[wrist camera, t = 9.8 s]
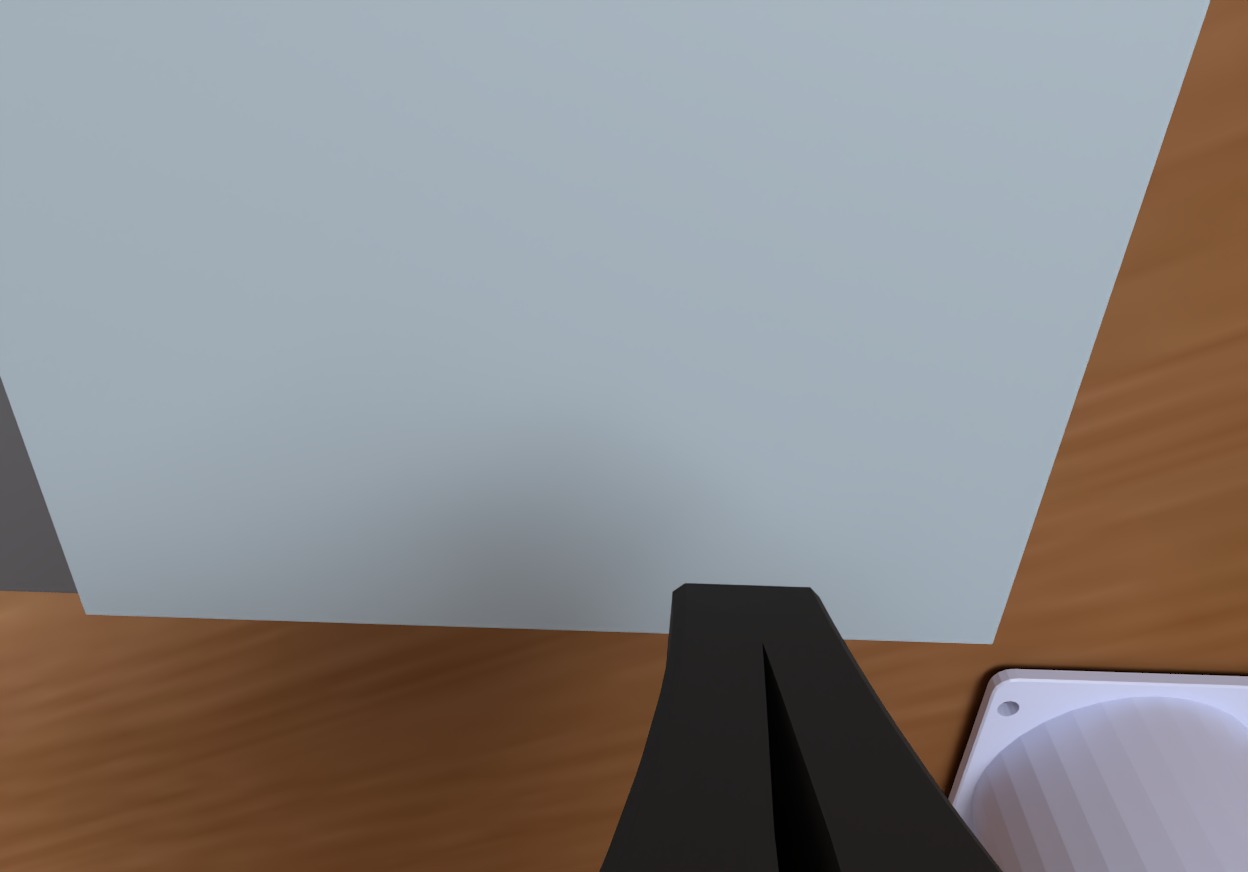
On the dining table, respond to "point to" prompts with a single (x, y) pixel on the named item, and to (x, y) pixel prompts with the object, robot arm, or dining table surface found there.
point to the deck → (563, 296)
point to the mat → (26, 519)
